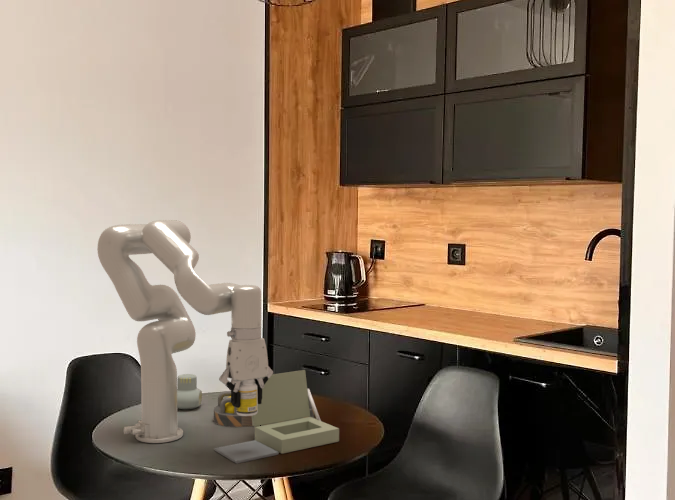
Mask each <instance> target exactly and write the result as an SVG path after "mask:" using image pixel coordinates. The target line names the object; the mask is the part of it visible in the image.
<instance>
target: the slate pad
mask: <svg viewBox="0 0 675 500" xmlns="http://www.w3.org/2000/svg"><path fill="white" fill-rule="evenodd" d="M213 449H214V452H216V453H217V454H219V455H222V456H223V457H225V458H227V460H229V461H231V462H233V463H235V464H240V463H245V462H250V461H254V460H259V459H263V458H268V457H272V456H277V455H279V452H278V451H276V450H274V449H272V448H270V447H268V446H266V445H264V444H262V443H260V442H258V441H256V440H255V439H253V440H249V441H244V442H239V443H233V444H229V445H224V446H218V447H214V448H213Z"/></svg>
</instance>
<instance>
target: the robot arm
mask: <svg viewBox="0 0 675 500" xmlns="http://www.w3.org/2000/svg"><path fill="white" fill-rule="evenodd" d="M191 239H192V238H191V231H190V229H189V227H188V226H187V225H186V224H185V223H184V222H182V221H180V220H173V219H172V220H171V219H170V220H169V219H168V220H167V219H165V220H164V219H163V220H162V219H159V220H153V221H150V222H148V223H145V224H144V223H143V224H142V223H139V224H136V223H135V224H133V223H132V224H131V223H130V224H116V225H111V226H109V227H107V228H105V229H104V230H103V231H102V232H101V234H100V236H99V238H98V241H97V255H98V256H97V257H98V260H99V262H100V264H101V266H102V268H103V270H104V271H105V273H106V274H107V275H108V278H109V279H110V280H111V282H112V285H113V287H114V289H115V290H116V292H117V294H118V296H119V299H120V300H121V302H122V304H123V305H122V306H124V308H125V310H126V313H128V316H129V317H130V318H131V319H132V320H133V321H135V322H148V321H153V320H156V321H153V322H149V323H147V324H145V325H144V326H142V327H141V328H140V330H139V332H138V334H137V336H136V344H137V350H138V354H139V363H140V381H141V382H140V384H141V385H140V386H141V388H140V393H141V394H140V396H141V397H140V398H141V399H140V400H141V402H140V405H141V408H140V410H141V412H140V413H141V420H140V419H139V420H137V423H135V424H134V425H132V426H131V425H129V426H127V425H126V426H124V427H123V430H122V431H123V434H124V435H129V434H131V435H133V436H134V435H135V439H136V440H137V441H139V442H141V443H149V444H161V443H162V444H163V443H170V442H174V441H177V440H179V439H181V438H182V437H183V435H184V431H183V429H182V428H181V427H178V408H177V381H178V369H177V366H176V363H175V361H174V358H173V354H176V353H179V352H183V351H187V350H188V349H190V348H191V347H192V346H193V345H194V344H195V340H196V337H197V336H196V335H197V334H196V328H195V326H194V325H195V324H194V323H193V321H192V320H191V317H190V315H189V314H188V311H187V310H186V308H185V306H184V304H183V302H182V300H181V298H180V296H181V297H182V299H183V300H185V302H186V303H187V304H188V305H189V306H190V307H191V308H192V309H194V310H195V311H196V312H197V313H200V314H201V315H204V316H211V315H212V316H213V315H217V314H221V313H222V314H223V313H228V312H230V314H231V316H230V318H231V327H230V330H229V331H227V332H226V336H227V337H228V338H231V339H229V342H228V346H227V351H226V352H227V353H226V360H225V361H226V362H225V363H226V364H225V369H224V370H223V372H222V374H220V376H219V378H218V380H219V381H220V382H221V383H222V384H223V385H225V387H226V388H228V389H229V390H228V391H231V403H232V406H234V407H237V408H239V407H240V392H238V389H239V386H240V382H241V381H246V380H253V379H255V381H254V383H255V384H256V385H257V393H258V404H261V403H262V388H264V385H265V383H266V382H267V381H268V378H270V377H271V375H273V374H274V370H273V369H271V367H270V366H269V359H268V358H269V357H268V350H267V344H266V341H265V338H263V337H262V291H261V287H259V286H258V285H252V284H251V285H250V284H236V283H232V282H223V283H214V284H207V283H206V282H205V281H204V280H203V279H202V278H201V277H200V276H199V275H198V274H197V273H196V272H195V270H194V269H195V268H196V266H197V264H198V263H199V258H200V257H199V255H200V254H199V252H198V251H197V250H196V249H195V247H193V246H192V244H190V242H191ZM149 254H153V255H154V256H155V257H156V258H157V259H158V260H159V261H160V262H161V263H162V264H163V265H164V266H165V267H166V268H167V269H168V270H169V271H170V272H171V273H172V275H173V279H174V284H175V287H176V289H177V292H178V293H177V292H176V291H175V290H174V289H173V288H172V287H170V286H169V285H166V284H153V285H152V284H151V283H150V282H149V281H148V279H147V278H146V276H145V274H144V271H143V270H142V268H141V267H140V266H139V265H138V264H137V263H136V262H135V261H134V260H133V259H131V258H130V256H131V255H133V256H135V255H149ZM179 295H180V296H179ZM229 379H230V380H229Z"/></svg>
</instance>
